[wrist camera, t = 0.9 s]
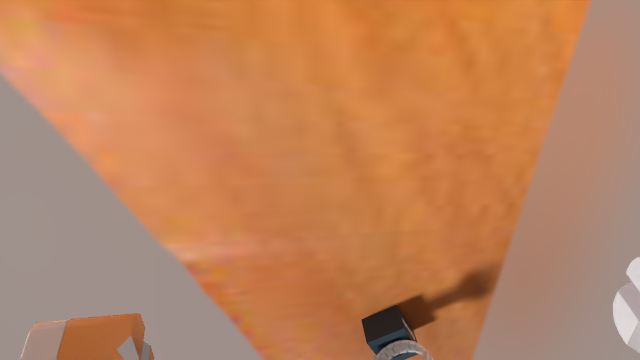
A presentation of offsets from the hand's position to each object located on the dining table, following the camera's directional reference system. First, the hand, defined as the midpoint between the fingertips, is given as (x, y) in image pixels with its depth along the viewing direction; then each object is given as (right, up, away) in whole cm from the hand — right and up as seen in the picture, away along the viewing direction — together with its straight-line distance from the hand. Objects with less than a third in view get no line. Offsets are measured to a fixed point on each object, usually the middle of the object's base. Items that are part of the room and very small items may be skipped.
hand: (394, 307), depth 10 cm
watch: (+7, -14, +56) cm, 58 cm away
